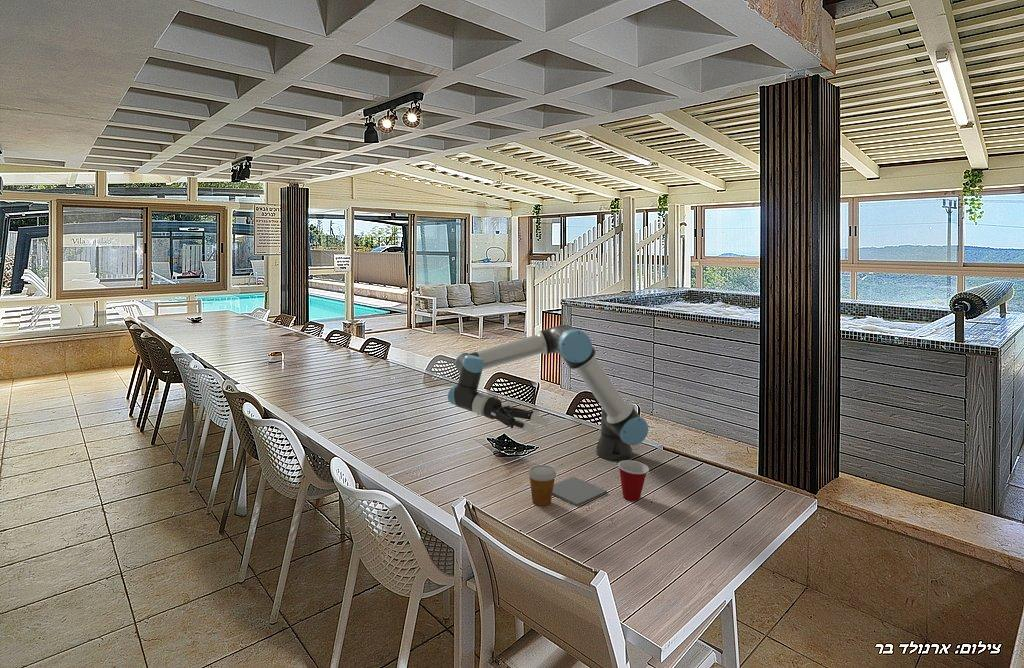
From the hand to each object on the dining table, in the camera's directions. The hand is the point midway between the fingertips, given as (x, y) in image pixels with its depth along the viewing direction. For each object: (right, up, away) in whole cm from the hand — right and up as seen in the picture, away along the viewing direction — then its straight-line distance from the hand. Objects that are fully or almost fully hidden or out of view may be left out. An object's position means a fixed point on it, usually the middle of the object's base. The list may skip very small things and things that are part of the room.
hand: (540, 425), depth 196 cm
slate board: (+13, -25, +8) cm, 29 cm away
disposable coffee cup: (0, -27, 0) cm, 27 cm away
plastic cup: (+33, -26, +5) cm, 42 cm away
